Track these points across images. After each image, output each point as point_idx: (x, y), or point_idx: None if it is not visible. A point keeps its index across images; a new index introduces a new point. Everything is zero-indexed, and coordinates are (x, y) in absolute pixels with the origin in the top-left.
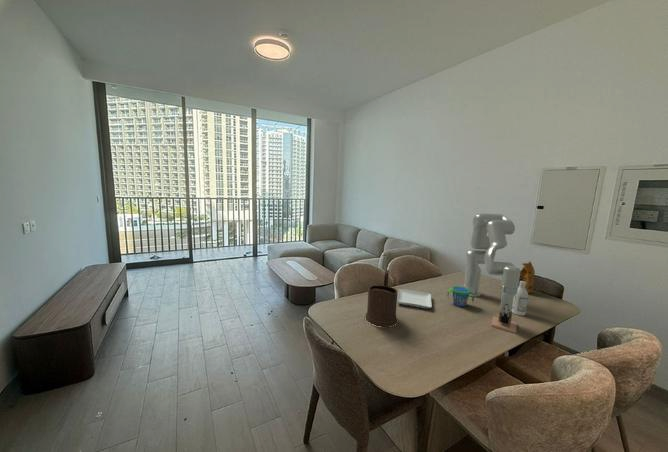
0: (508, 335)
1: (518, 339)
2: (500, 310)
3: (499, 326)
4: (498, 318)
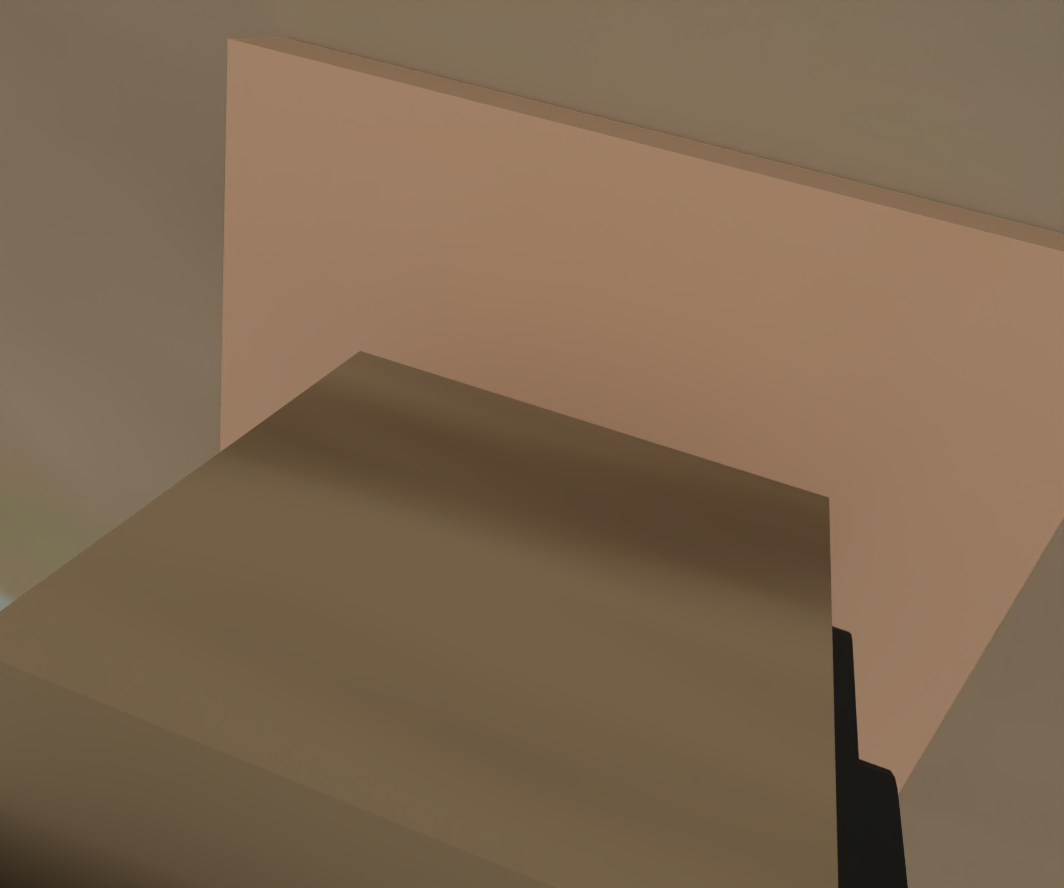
0: (39, 439)
1: (10, 593)
2: (324, 825)
3: (233, 316)
4: (993, 477)
